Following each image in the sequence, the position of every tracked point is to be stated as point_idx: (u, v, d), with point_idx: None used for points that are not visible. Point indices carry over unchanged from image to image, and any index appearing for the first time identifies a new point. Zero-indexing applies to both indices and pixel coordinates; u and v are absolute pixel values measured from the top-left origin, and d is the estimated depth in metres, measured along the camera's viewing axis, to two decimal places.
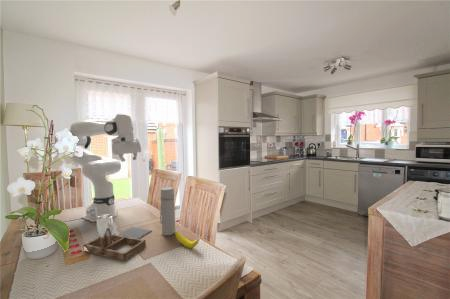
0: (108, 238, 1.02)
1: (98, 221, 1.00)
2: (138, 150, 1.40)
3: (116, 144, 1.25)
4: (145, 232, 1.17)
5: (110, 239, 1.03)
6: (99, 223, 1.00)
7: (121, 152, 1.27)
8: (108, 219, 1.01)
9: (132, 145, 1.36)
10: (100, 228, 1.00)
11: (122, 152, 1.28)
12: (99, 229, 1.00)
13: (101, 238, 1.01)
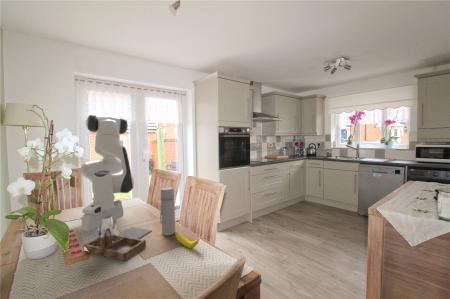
0: (108, 238, 1.02)
1: None
2: (119, 215, 1.09)
3: (87, 218, 0.94)
4: (145, 232, 1.17)
5: (110, 239, 1.03)
6: None
7: (94, 227, 0.96)
8: (108, 219, 1.01)
9: (111, 211, 1.05)
10: (100, 228, 1.00)
11: (96, 226, 0.97)
12: (99, 229, 1.00)
13: (101, 238, 1.01)
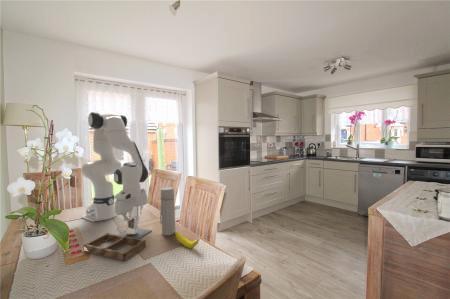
0: (135, 225, 1.14)
1: None
2: (144, 203, 1.22)
3: (119, 203, 1.06)
4: (145, 232, 1.17)
5: (136, 226, 1.15)
6: None
7: (125, 211, 1.09)
8: (137, 207, 1.15)
9: (138, 199, 1.18)
10: (130, 214, 1.13)
11: (126, 211, 1.10)
12: (129, 215, 1.13)
13: (129, 224, 1.13)
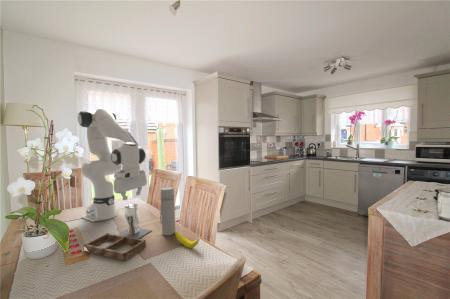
0: (136, 225, 1.16)
1: (126, 210, 1.13)
2: (143, 184, 1.21)
3: (119, 182, 1.06)
4: (145, 232, 1.17)
5: (137, 225, 1.17)
6: (127, 211, 1.13)
7: (124, 190, 1.08)
8: (135, 208, 1.15)
9: (137, 179, 1.17)
10: (129, 216, 1.13)
11: (125, 190, 1.09)
12: (128, 217, 1.13)
13: (130, 224, 1.14)
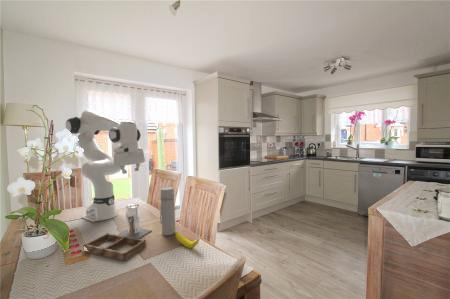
0: (136, 225, 1.16)
1: (128, 209, 1.14)
2: (141, 160, 1.30)
3: (118, 155, 1.14)
4: (145, 232, 1.17)
5: (137, 226, 1.17)
6: (129, 211, 1.13)
7: (123, 164, 1.16)
8: (136, 208, 1.15)
9: (135, 155, 1.25)
10: (130, 216, 1.13)
11: (124, 164, 1.17)
12: (129, 216, 1.13)
13: (130, 224, 1.14)
